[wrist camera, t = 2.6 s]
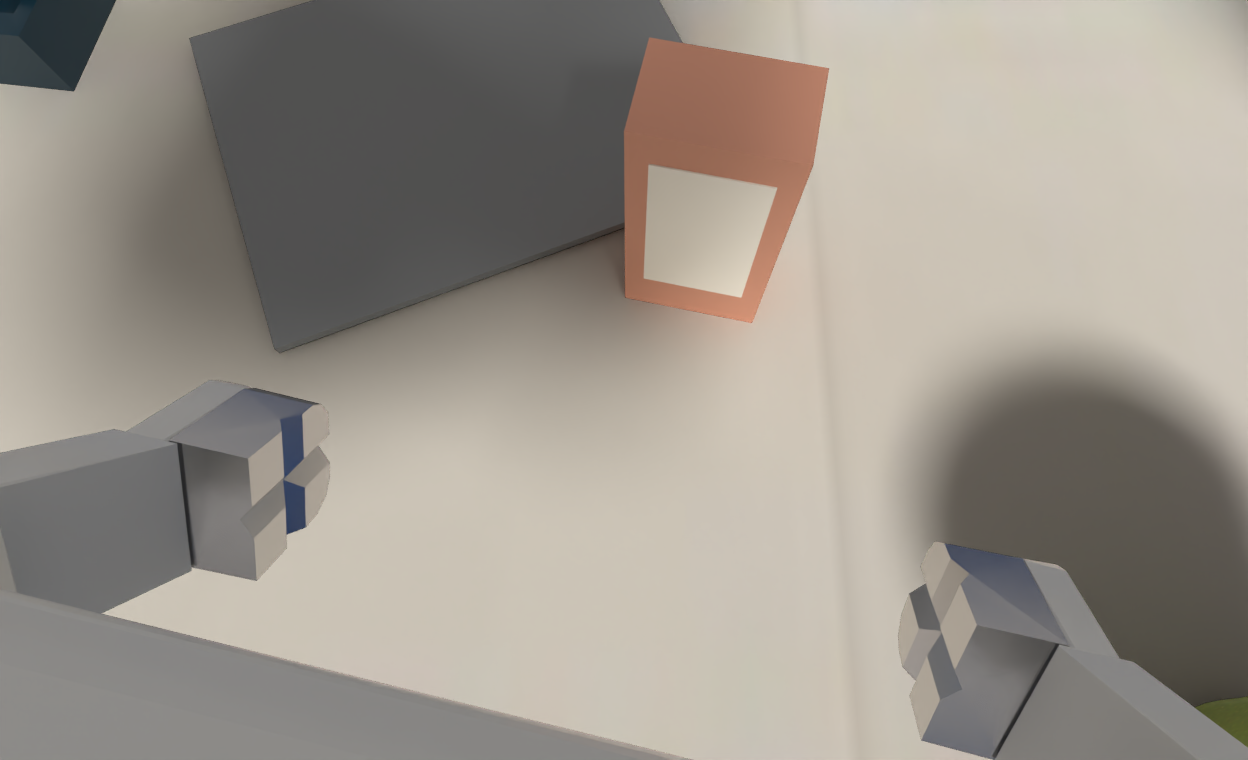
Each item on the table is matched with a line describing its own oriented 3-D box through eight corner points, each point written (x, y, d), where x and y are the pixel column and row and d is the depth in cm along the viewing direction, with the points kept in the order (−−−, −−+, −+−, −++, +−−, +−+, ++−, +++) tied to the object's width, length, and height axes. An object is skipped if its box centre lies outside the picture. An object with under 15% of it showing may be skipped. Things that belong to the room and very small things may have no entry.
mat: (609, -83, 36) (608, -90, 35) (754, 180, 31) (755, 174, 30) (194, 45, 33) (189, 38, 33) (279, 352, 28) (274, 349, 28)
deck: (751, 324, 29) (812, 167, 19) (625, 298, 29) (623, 132, 20) (765, 250, 30) (829, 67, 20) (642, 226, 30) (649, 35, 21)
